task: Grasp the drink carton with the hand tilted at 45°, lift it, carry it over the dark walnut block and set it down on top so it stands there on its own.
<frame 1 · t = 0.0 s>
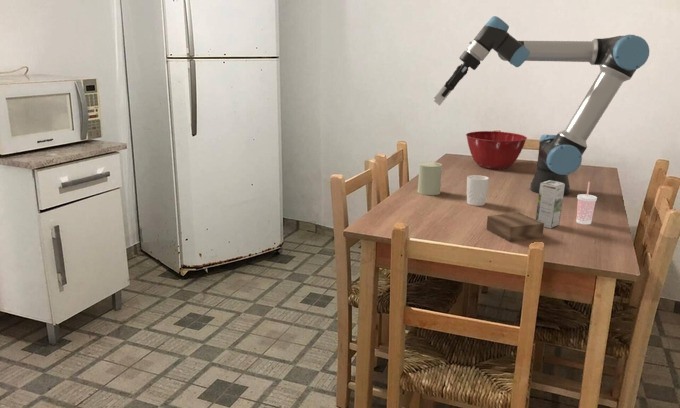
hand: (436, 101, 212), 36 cm above the table, tool tilted 35°, fingers open, 13 cm apart
white cup: (475, 204, 207), on the table
walnut block: (513, 234, 174), on the table
can: (428, 192, 222), on the table
mixing bowl: (493, 167, 273), on the table
drink carton: (547, 225, 182), on the table
beverage cup: (583, 222, 186), on the table
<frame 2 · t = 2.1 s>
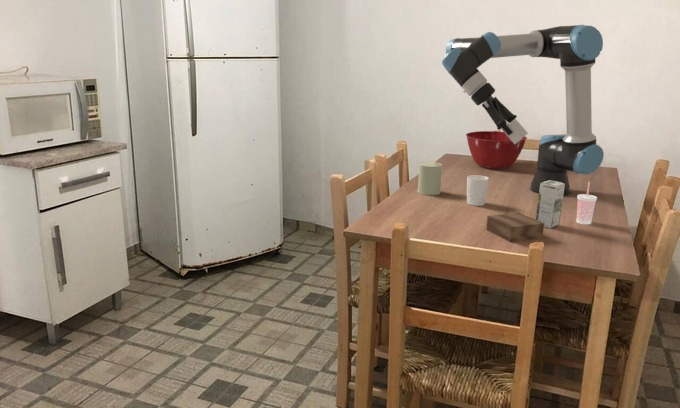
hand: (521, 138, 179), 28 cm above the table, tool tilted 45°, fingers open, 13 cm apart
nothing on the table moved.
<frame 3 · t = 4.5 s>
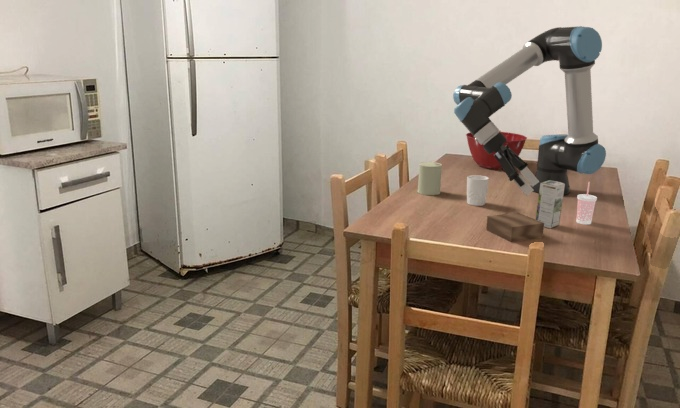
hand: (533, 188, 181), 12 cm above the table, tool tilted 45°, fingers open, 13 cm apart
nothing on the table moved.
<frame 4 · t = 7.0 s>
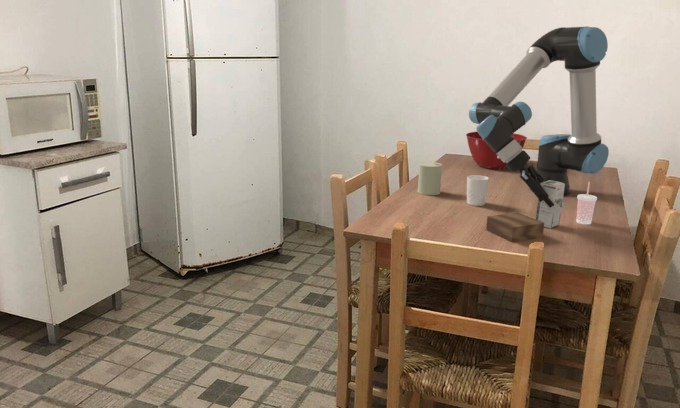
hand: (560, 210, 179), 6 cm above the table, tool tilted 45°, fingers closed on drink carton, 7 cm apart
drink carton: (547, 225, 182), on the table, touching gripper
everything else where it was.
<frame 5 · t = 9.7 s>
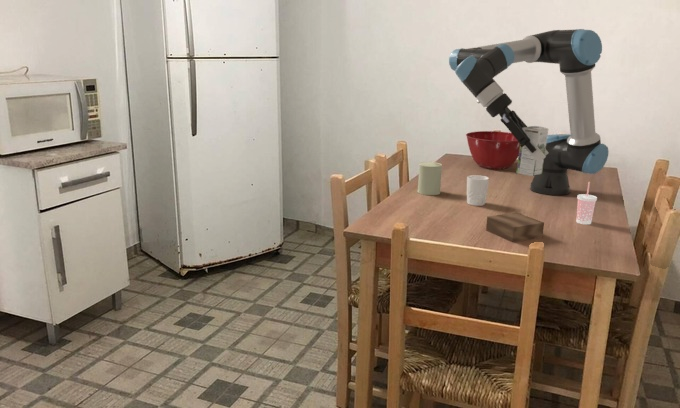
hand: (543, 157, 168), 24 cm above the table, tool tilted 45°, fingers closed on drink carton, 7 cm apart
drink carton: (529, 174, 171), point 18 cm above the table, touching gripper
everything else where it was.
when the fingers open (12 cm above the table, at t = 12.4 s): drink carton drops 2 cm, point 4 cm above the table.
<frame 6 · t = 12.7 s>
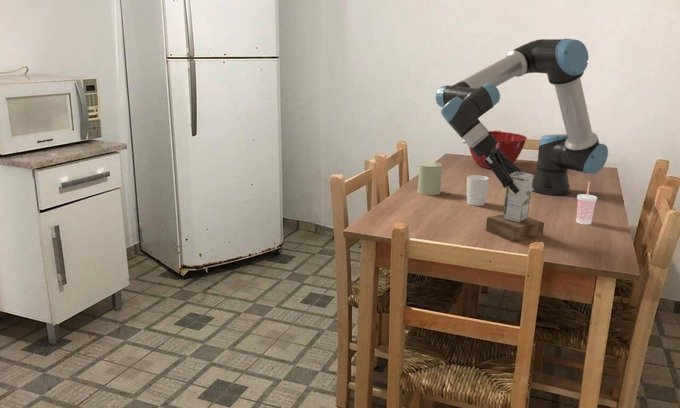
hand: (527, 196, 169), 13 cm above the table, tool tilted 45°, fingers open, 10 cm apart
drink carton: (515, 219, 173), point 4 cm above the table
everything else where it was.
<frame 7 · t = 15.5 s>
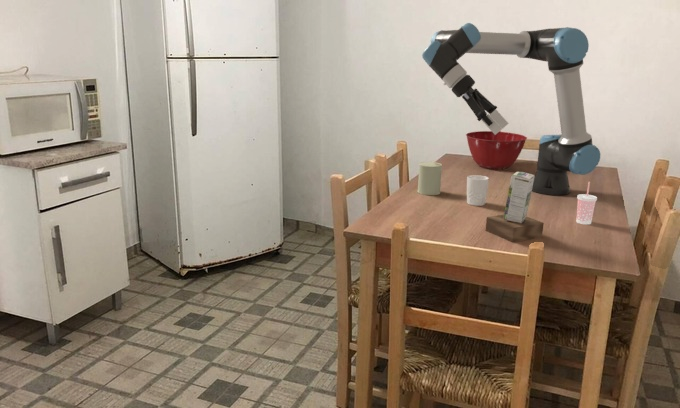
hand: (502, 129, 182), 30 cm above the table, tool tilted 45°, fingers open, 13 cm apart
drink carton: (514, 219, 172), point 5 cm above the table
everything else where it was.
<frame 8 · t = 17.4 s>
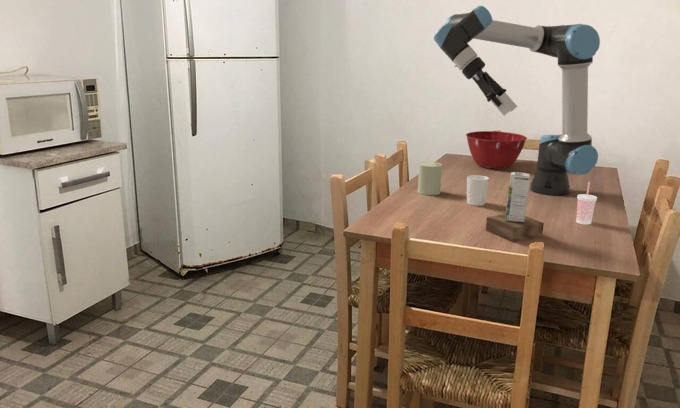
hand: (511, 111, 186), 36 cm above the table, tool tilted 45°, fingers open, 13 cm apart
walnut block: (513, 235, 174), on the table, touching drink carton
drink carton: (515, 220, 172), point 4 cm above the table, touching walnut block
everything else where it was.
at the end: drink carton inside the target area on the walnut block (0.2 cm from its centre), point 4.9 cm above the walnut block's base; drink carton tilted 3°; the gripper is holding nothing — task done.
